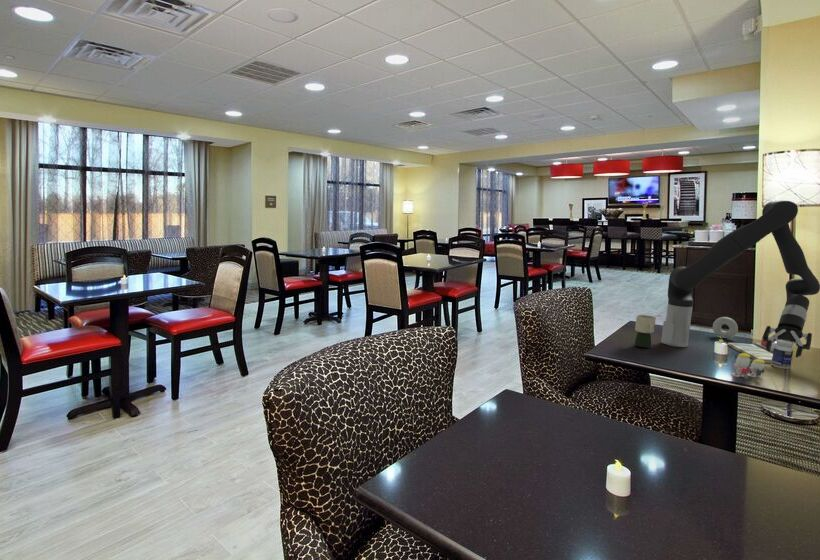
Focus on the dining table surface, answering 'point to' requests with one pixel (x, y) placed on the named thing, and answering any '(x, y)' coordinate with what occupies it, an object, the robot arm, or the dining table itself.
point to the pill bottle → (782, 354)
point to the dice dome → (763, 345)
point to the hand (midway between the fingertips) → (782, 353)
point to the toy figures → (744, 361)
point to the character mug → (644, 330)
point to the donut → (728, 321)
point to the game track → (753, 351)
